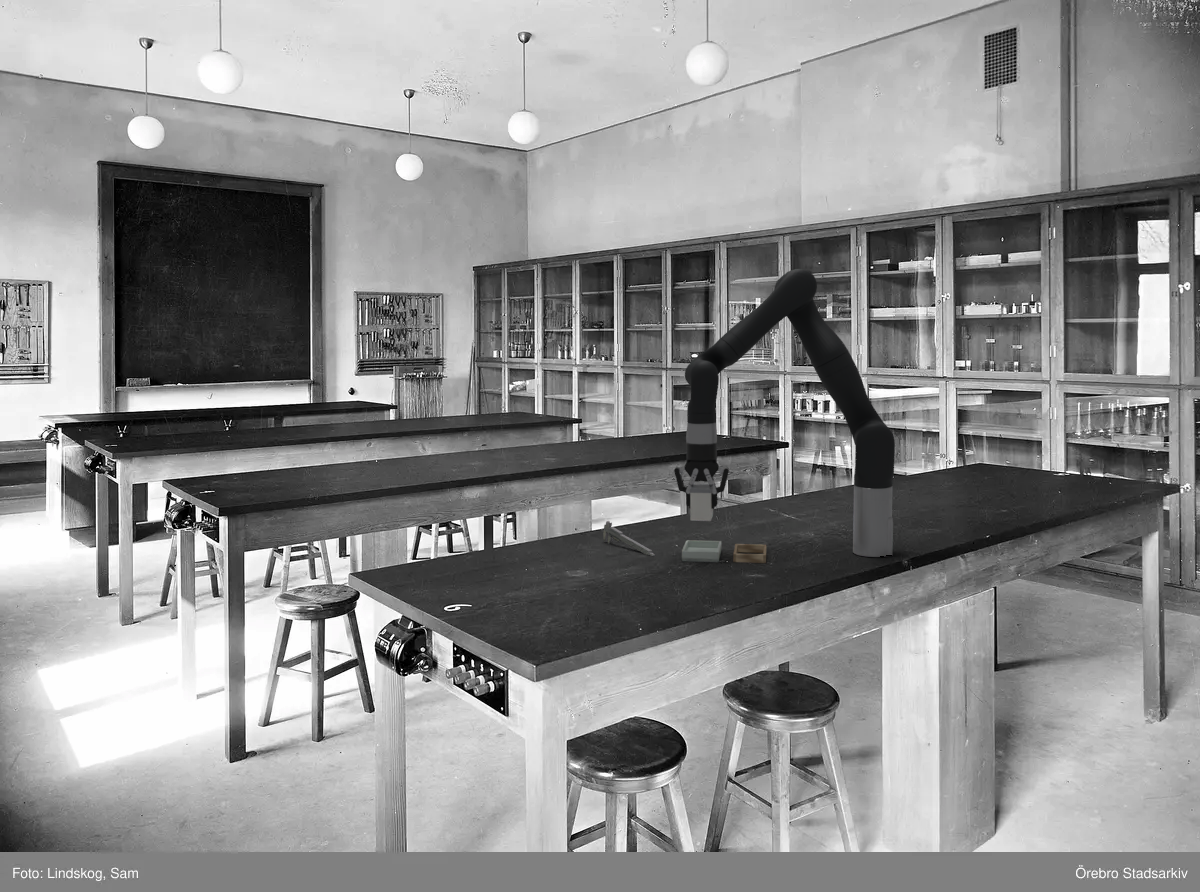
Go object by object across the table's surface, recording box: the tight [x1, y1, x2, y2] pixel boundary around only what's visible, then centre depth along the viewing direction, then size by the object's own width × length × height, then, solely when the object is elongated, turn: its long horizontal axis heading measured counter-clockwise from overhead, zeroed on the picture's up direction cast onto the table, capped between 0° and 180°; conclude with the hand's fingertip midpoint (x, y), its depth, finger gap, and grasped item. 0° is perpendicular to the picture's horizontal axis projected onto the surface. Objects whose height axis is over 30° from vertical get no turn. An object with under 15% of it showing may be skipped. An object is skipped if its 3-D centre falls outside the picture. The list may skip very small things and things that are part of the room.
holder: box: [732, 543, 767, 564], centre depth 229 cm, size 8×11×2 cm
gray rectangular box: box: [689, 482, 714, 522], centre depth 229 cm, size 5×8×8 cm, turn 169°
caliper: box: [602, 520, 656, 557], centre depth 240 cm, size 20×1×6 cm, turn 37°
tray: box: [681, 539, 722, 563], centre depth 231 cm, size 9×12×2 cm
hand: (701, 507), depth 230 cm, fingers closed on gray rectangular box, 5 cm apart
